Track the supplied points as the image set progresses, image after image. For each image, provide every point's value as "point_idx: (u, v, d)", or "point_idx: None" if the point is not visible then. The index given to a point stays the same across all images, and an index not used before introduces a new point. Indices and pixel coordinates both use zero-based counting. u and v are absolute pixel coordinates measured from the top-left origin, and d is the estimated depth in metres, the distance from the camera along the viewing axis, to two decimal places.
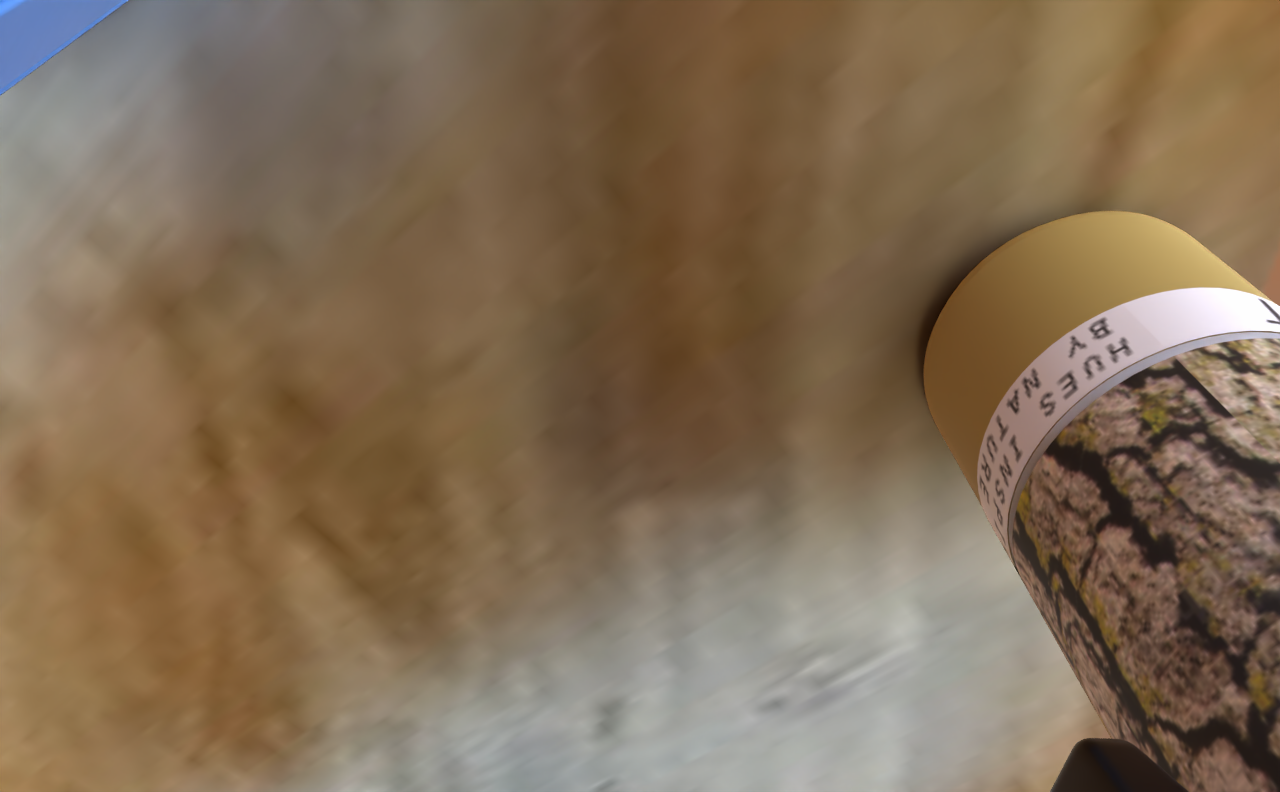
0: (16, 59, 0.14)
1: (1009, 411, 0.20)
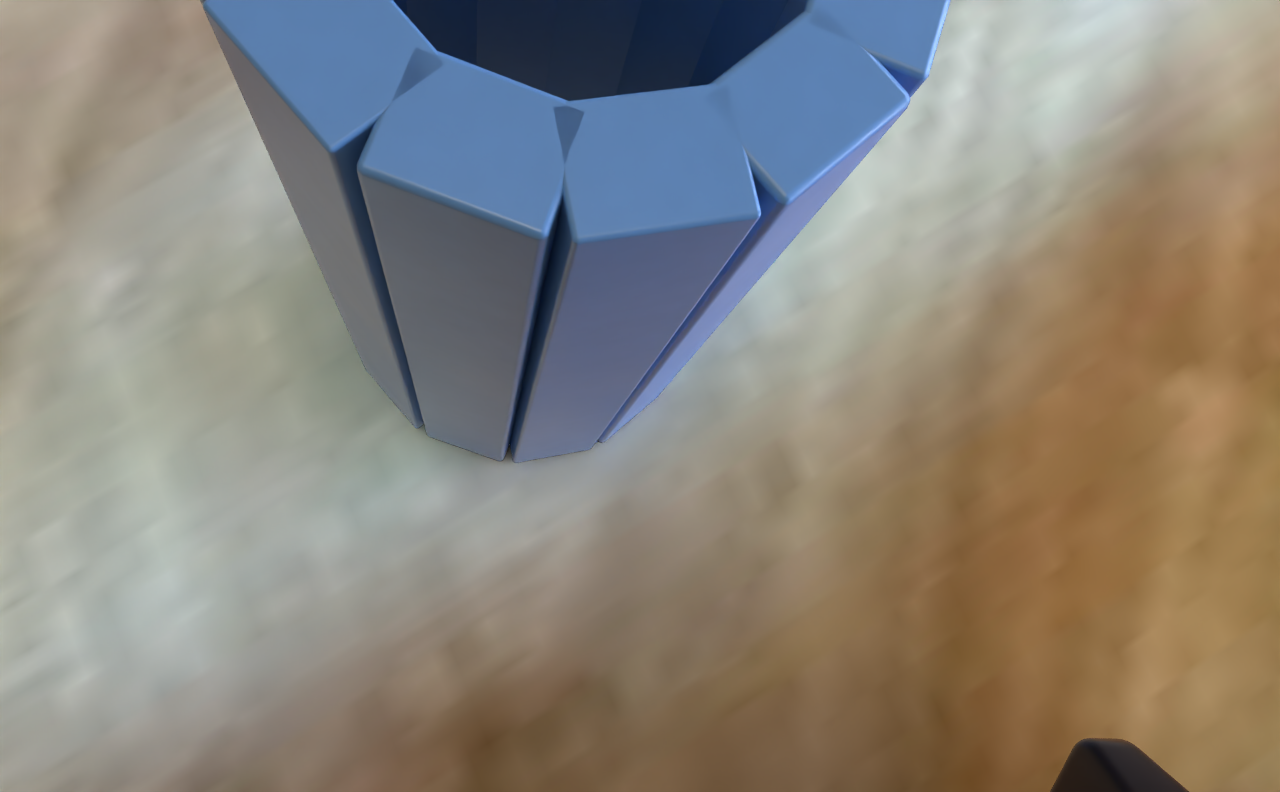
0: (670, 367, 0.17)
1: None
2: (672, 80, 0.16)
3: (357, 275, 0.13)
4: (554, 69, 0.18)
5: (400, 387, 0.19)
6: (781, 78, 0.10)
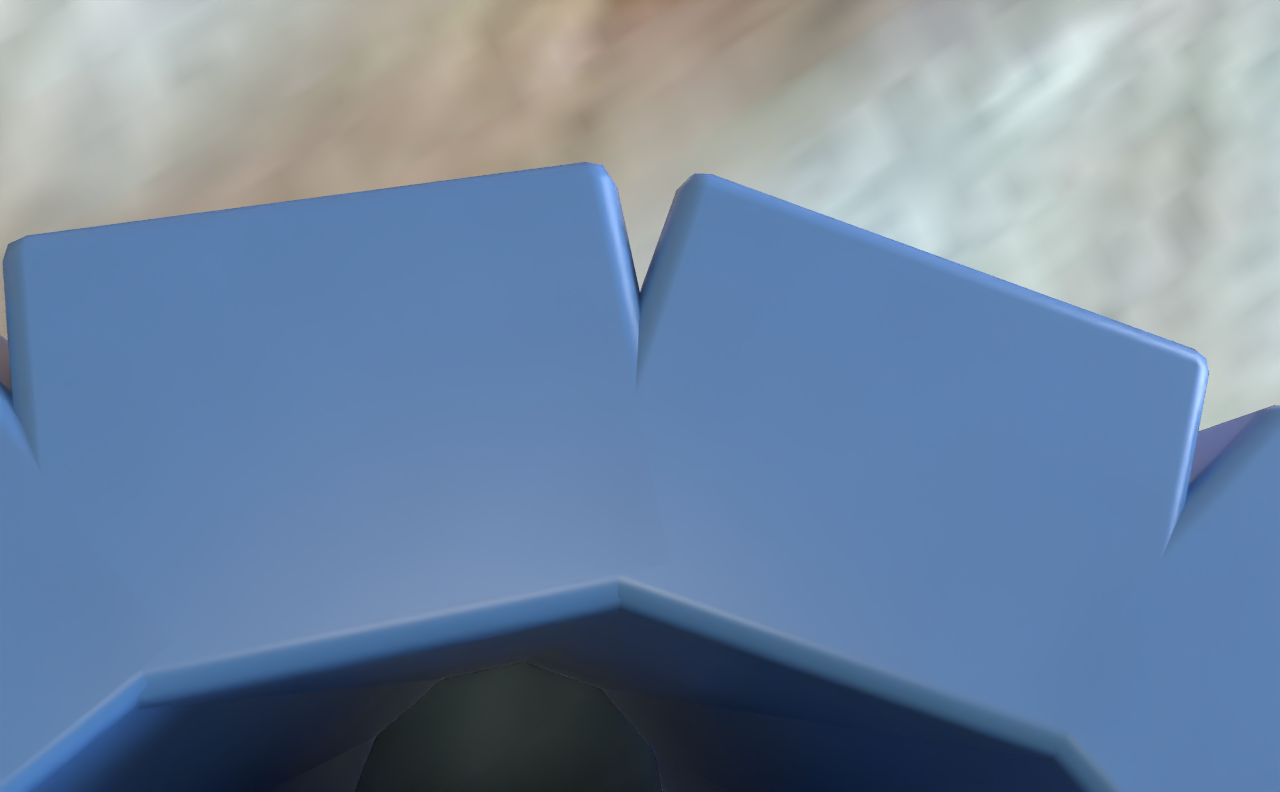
0: None
1: None
2: (755, 788, 0.09)
3: None
4: (544, 660, 0.11)
5: None
6: None
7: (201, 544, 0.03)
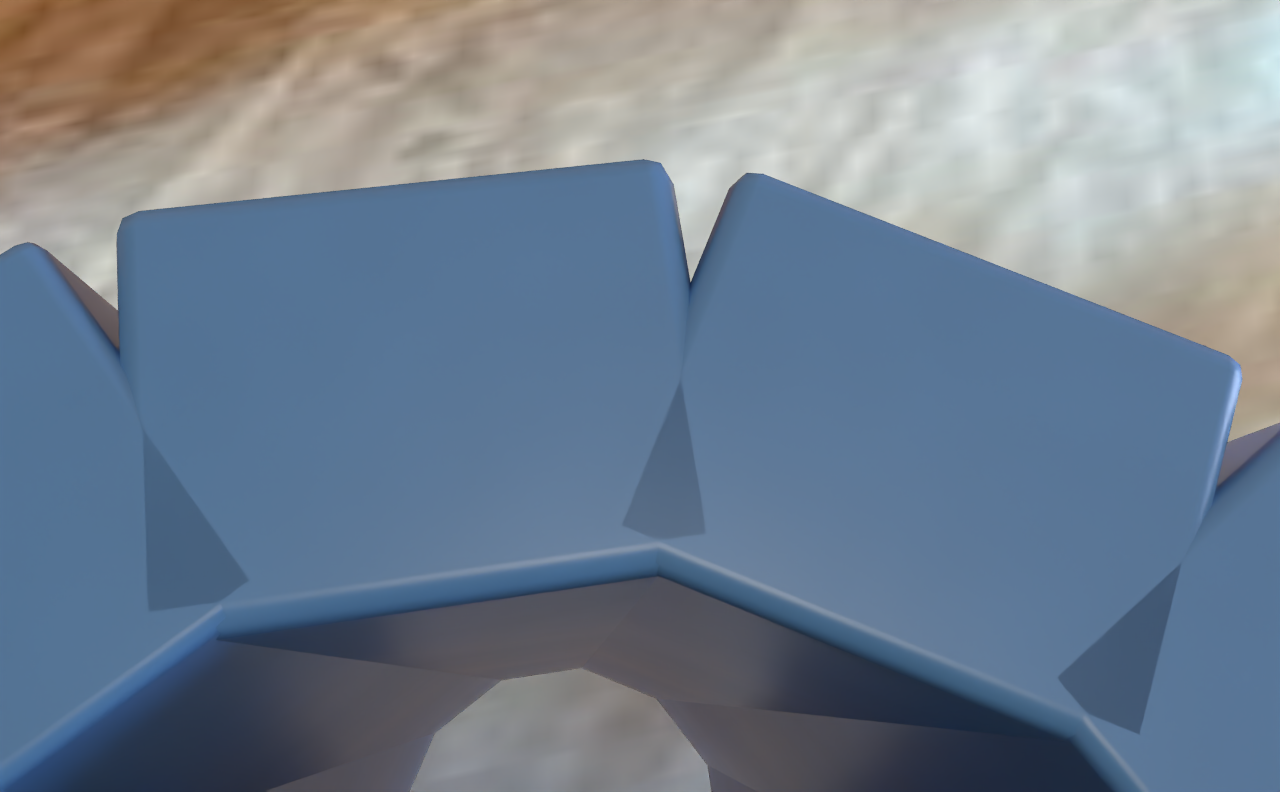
0: None
1: None
2: None
3: None
4: (600, 662, 0.11)
5: None
6: None
7: (278, 493, 0.03)
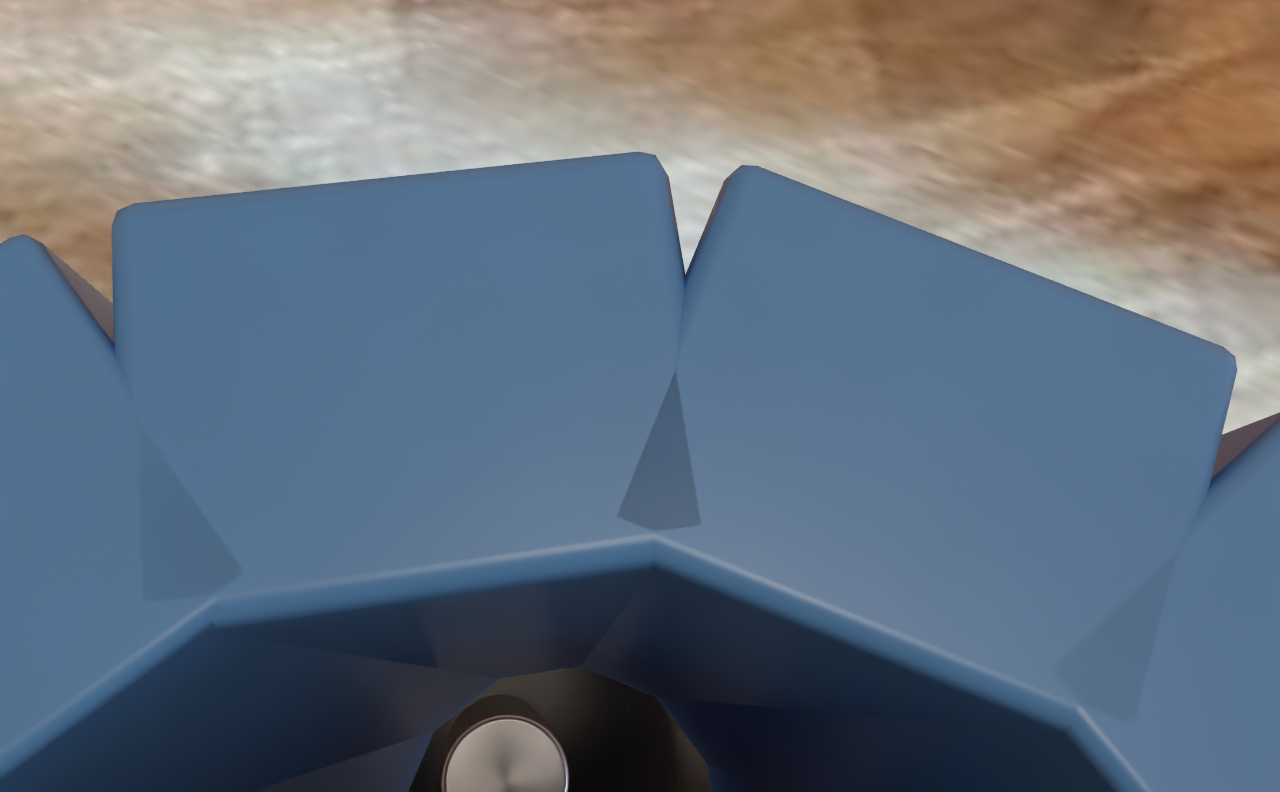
0: None
1: None
2: None
3: None
4: (599, 660, 0.11)
5: None
6: None
7: (273, 485, 0.03)
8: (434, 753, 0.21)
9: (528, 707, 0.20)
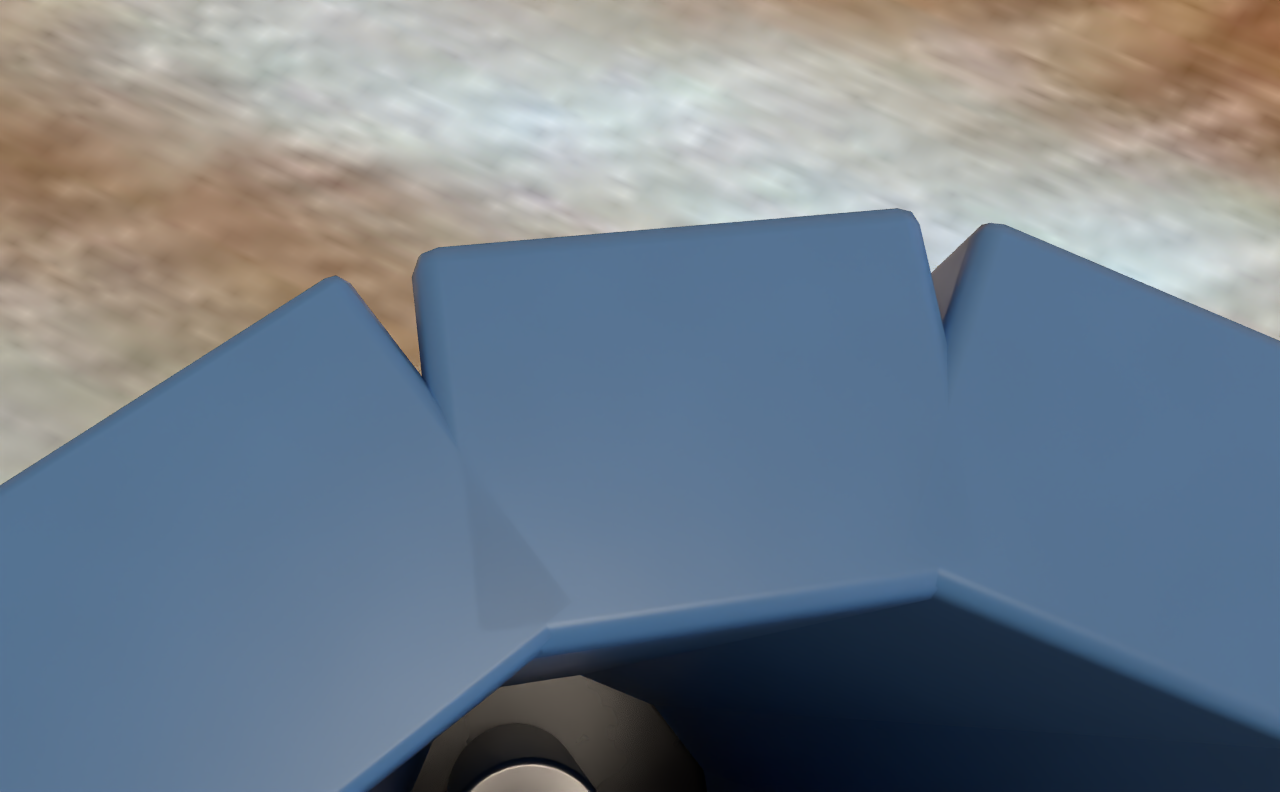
0: None
1: None
2: None
3: None
4: (631, 670, 0.11)
5: None
6: None
7: (590, 520, 0.03)
8: None
9: (553, 742, 0.15)
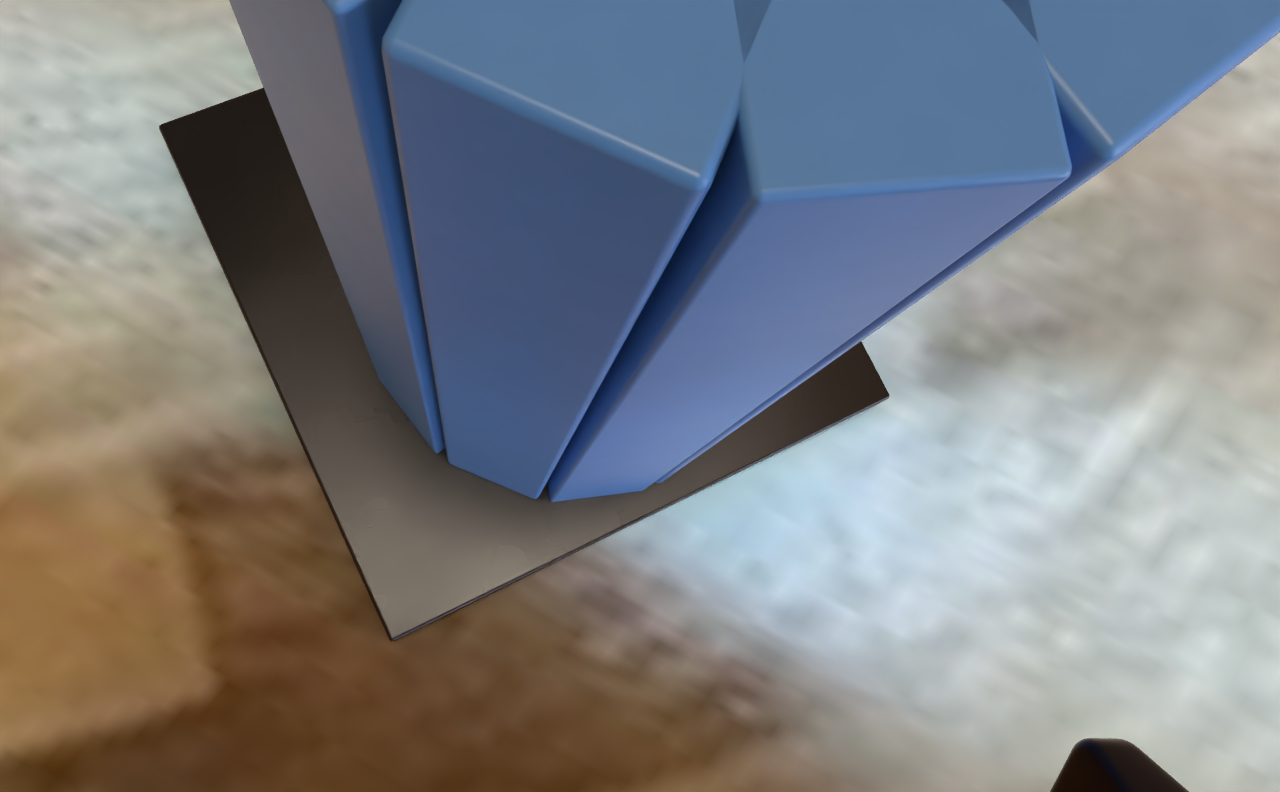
0: None
1: None
2: None
3: (374, 253, 0.09)
4: None
5: (421, 406, 0.15)
6: None
7: None
8: None
9: None
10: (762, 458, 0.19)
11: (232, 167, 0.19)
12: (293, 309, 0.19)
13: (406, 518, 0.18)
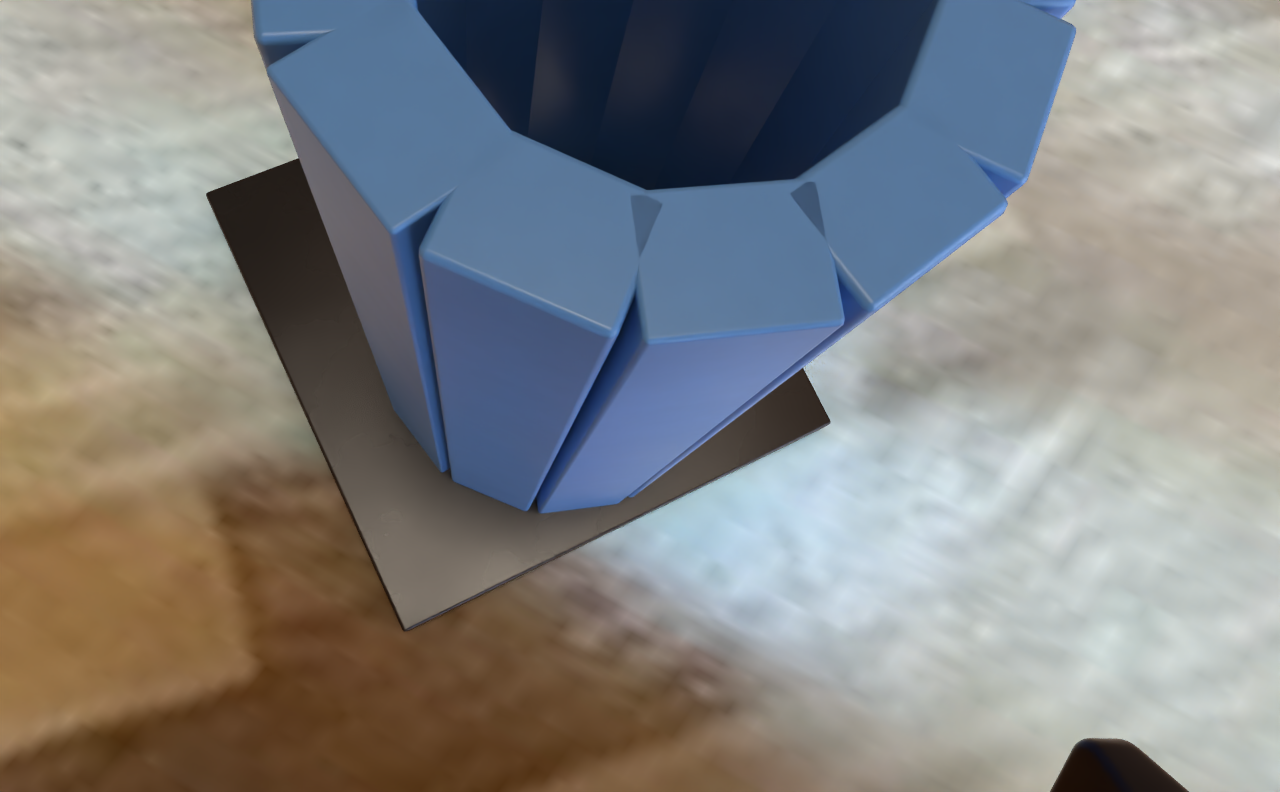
0: None
1: None
2: (731, 143, 0.16)
3: (401, 338, 0.12)
4: (609, 120, 0.18)
5: (430, 437, 0.18)
6: (873, 176, 0.09)
7: None
8: None
9: None
10: (720, 475, 0.23)
11: (268, 228, 0.22)
12: (320, 350, 0.22)
13: (416, 527, 0.21)
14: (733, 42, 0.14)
